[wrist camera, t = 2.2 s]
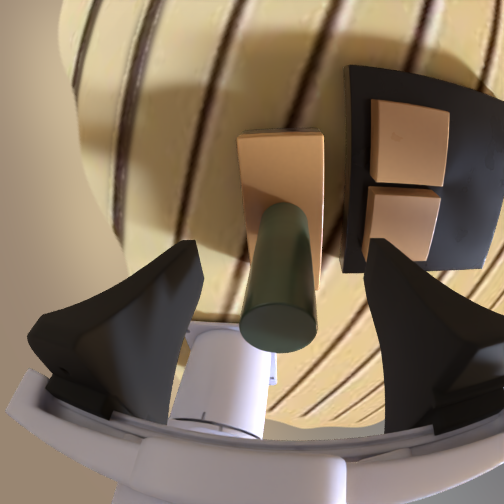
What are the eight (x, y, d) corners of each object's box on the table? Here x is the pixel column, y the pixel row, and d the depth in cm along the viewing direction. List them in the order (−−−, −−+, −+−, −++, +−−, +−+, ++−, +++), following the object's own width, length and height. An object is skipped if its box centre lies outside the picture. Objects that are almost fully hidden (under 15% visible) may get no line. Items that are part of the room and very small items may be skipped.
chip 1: (433, 179, 12) (443, 187, 11) (369, 175, 13) (375, 182, 12) (438, 109, 10) (450, 111, 9) (370, 98, 11) (378, 99, 10)
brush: (316, 266, 18) (326, 396, 10) (257, 266, 19) (233, 394, 11) (318, 127, 13) (364, 185, 5) (243, 130, 14) (180, 190, 6)
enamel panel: (473, 257, 16) (482, 268, 15) (339, 260, 18) (342, 273, 16) (501, 102, 9) (514, 106, 8) (342, 67, 11) (348, 64, 10)
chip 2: (419, 250, 15) (426, 261, 14) (361, 250, 15) (365, 262, 14) (431, 189, 12) (441, 197, 11) (368, 185, 13) (374, 194, 12)
